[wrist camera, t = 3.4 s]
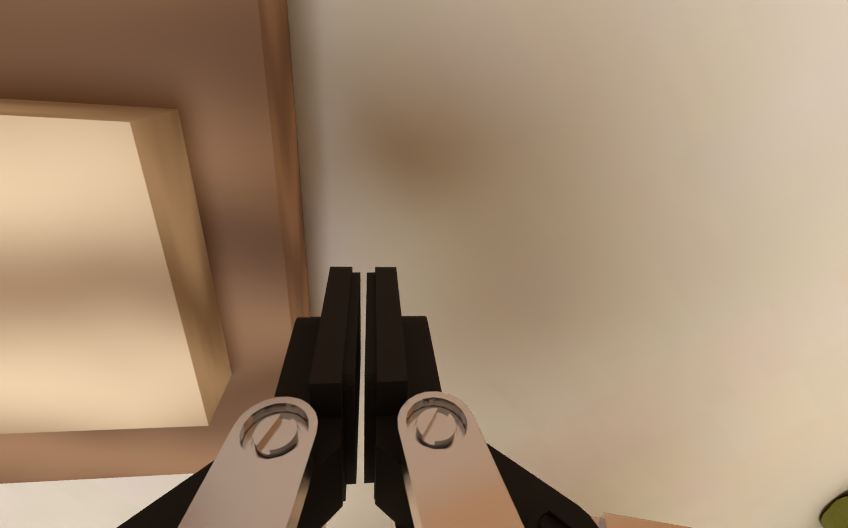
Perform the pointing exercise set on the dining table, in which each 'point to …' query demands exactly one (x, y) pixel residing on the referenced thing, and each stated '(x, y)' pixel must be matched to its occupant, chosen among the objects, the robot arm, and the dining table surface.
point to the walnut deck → (212, 179)
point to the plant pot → (836, 514)
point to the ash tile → (103, 273)
